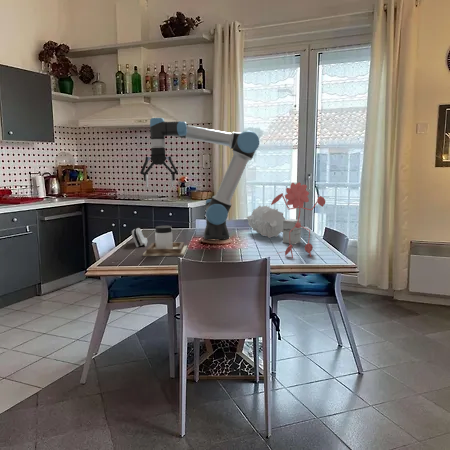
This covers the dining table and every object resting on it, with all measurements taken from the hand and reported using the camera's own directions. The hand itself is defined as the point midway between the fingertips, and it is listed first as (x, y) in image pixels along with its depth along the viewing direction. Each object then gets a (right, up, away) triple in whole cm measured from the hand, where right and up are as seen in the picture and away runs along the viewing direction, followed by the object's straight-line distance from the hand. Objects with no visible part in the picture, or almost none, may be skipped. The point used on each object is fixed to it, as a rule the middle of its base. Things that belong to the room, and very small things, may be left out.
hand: (159, 186), depth 238 cm
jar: (+5, -34, -16) cm, 37 cm away
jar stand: (+5, -34, -15) cm, 38 cm away
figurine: (+70, -35, -26) cm, 83 cm away
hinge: (-12, -32, +6) cm, 34 cm away
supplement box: (+73, -31, +3) cm, 79 cm away
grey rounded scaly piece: (+61, -27, +25) cm, 71 cm away
